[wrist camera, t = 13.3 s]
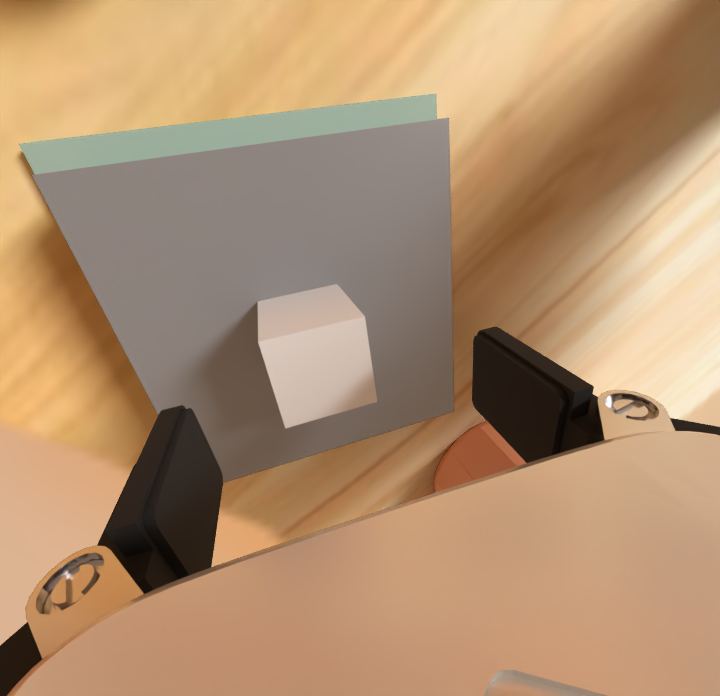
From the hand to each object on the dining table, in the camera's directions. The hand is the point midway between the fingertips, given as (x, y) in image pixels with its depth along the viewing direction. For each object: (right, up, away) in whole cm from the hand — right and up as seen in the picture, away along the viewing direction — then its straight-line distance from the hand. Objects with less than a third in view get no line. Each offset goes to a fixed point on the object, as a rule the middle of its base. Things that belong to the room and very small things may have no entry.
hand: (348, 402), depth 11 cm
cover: (-3, +4, +10) cm, 12 cm away
